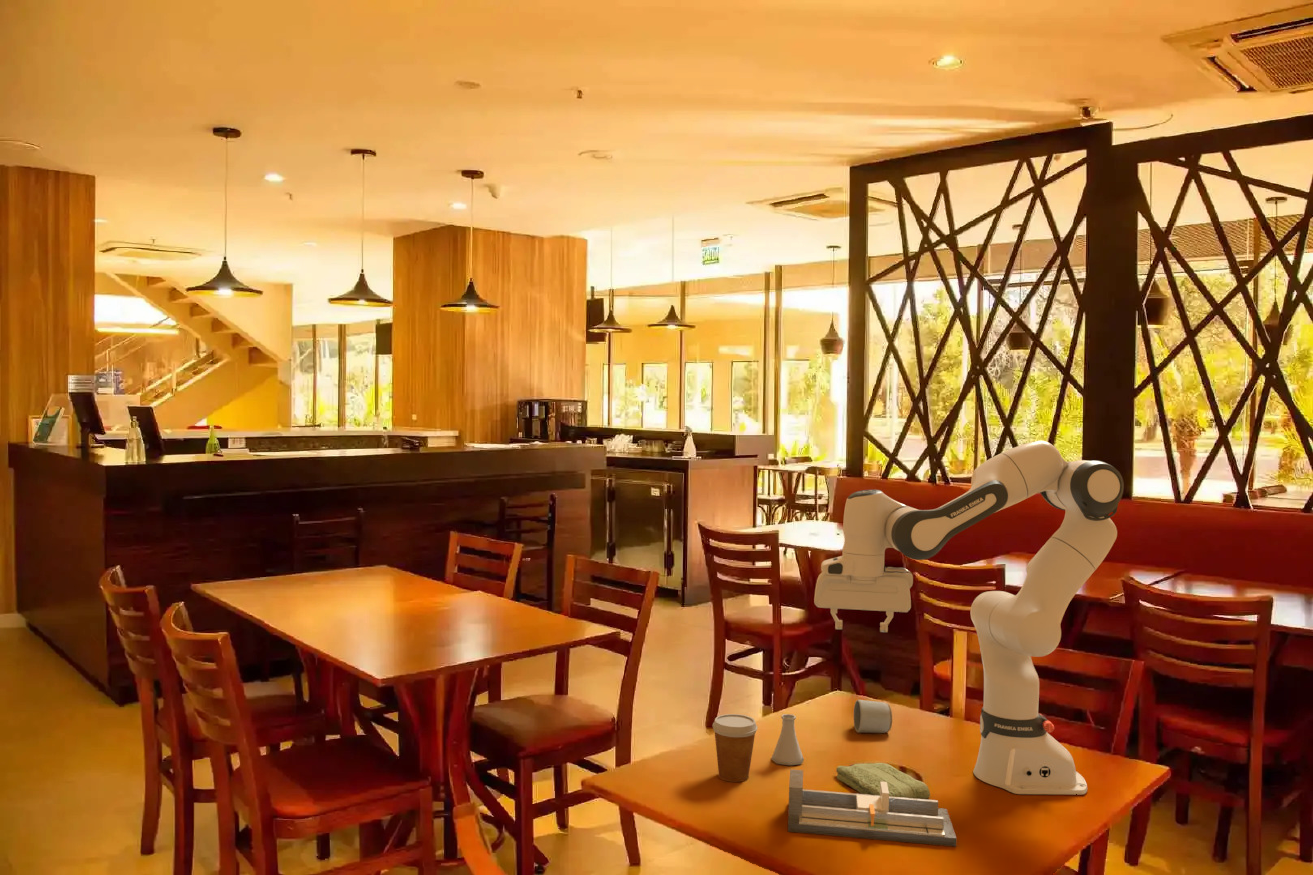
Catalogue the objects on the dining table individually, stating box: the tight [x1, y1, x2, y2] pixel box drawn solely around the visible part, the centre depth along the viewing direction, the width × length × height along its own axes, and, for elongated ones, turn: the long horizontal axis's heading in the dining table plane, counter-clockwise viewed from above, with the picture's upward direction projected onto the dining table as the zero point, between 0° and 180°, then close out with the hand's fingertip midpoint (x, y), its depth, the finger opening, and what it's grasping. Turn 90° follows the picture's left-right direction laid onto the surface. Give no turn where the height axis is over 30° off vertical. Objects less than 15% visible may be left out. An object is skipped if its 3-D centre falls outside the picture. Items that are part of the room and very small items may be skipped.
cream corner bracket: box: [856, 781, 889, 826], centre depth 179 cm, size 6×10×5 cm, turn 171°
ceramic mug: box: [853, 699, 893, 734], centre depth 235 cm, size 11×8×8 cm
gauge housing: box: [787, 769, 957, 848], centre depth 181 cm, size 30×13×8 cm, turn 81°
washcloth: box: [836, 762, 931, 800], centre depth 199 cm, size 13×18×3 cm
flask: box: [770, 713, 804, 766], centre depth 213 cm, size 7×7×10 cm
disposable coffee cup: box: [711, 713, 759, 783], centre depth 203 cm, size 10×10×12 cm
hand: (861, 630), depth 205 cm, fingers open, 8 cm apart
